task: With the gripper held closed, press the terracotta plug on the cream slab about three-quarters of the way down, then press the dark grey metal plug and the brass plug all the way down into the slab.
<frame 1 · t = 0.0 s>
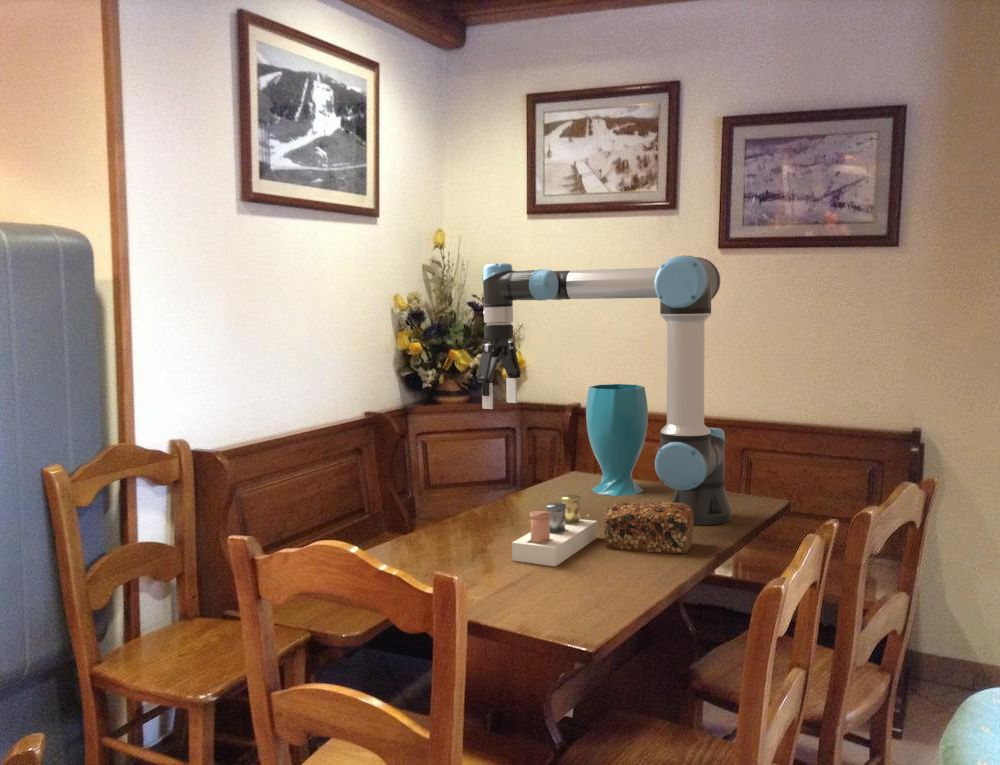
hand: (500, 405, 230), 28 cm above the table, fingers open, 13 cm apart
bread: (648, 547, 198), on the table
grey plug: (556, 517, 197), point 7 cm above the table, slide at 0.0 cm
brass plug: (571, 509, 204), point 7 cm above the table, slide at 0.0 cm
vase: (617, 490, 255), on the table
terracotta plug: (540, 526, 189), point 7 cm above the table, slide at 0.0 cm
slab: (556, 548, 197), on the table
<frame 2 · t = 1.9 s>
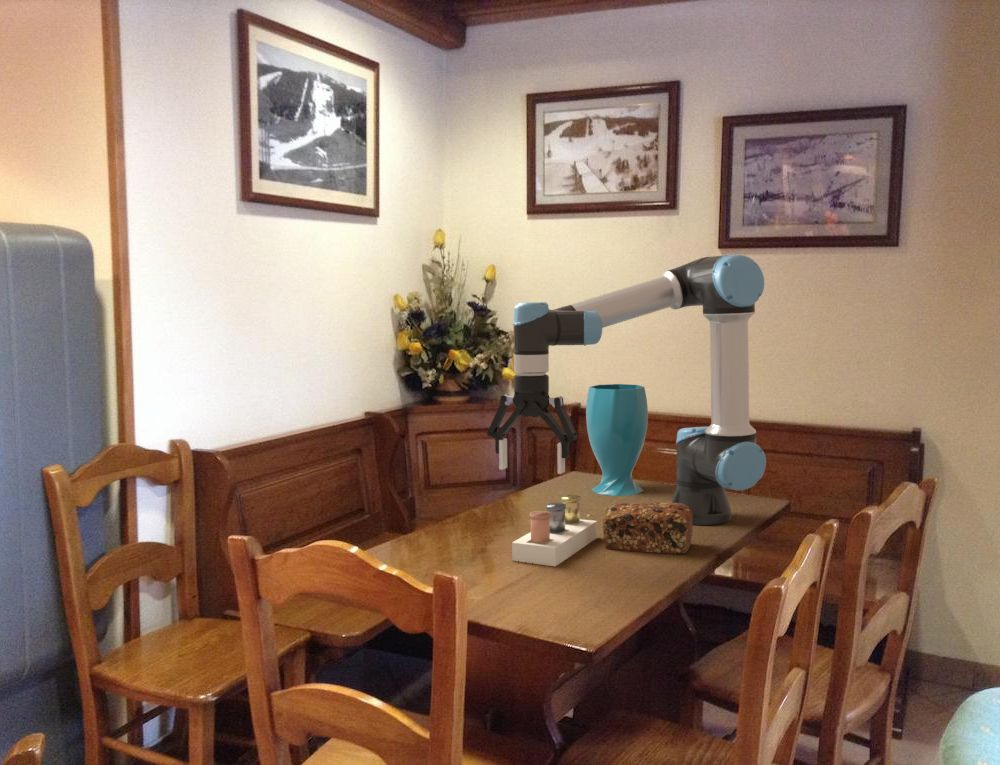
hand: (531, 470, 193), 18 cm above the table, fingers open, 13 cm apart
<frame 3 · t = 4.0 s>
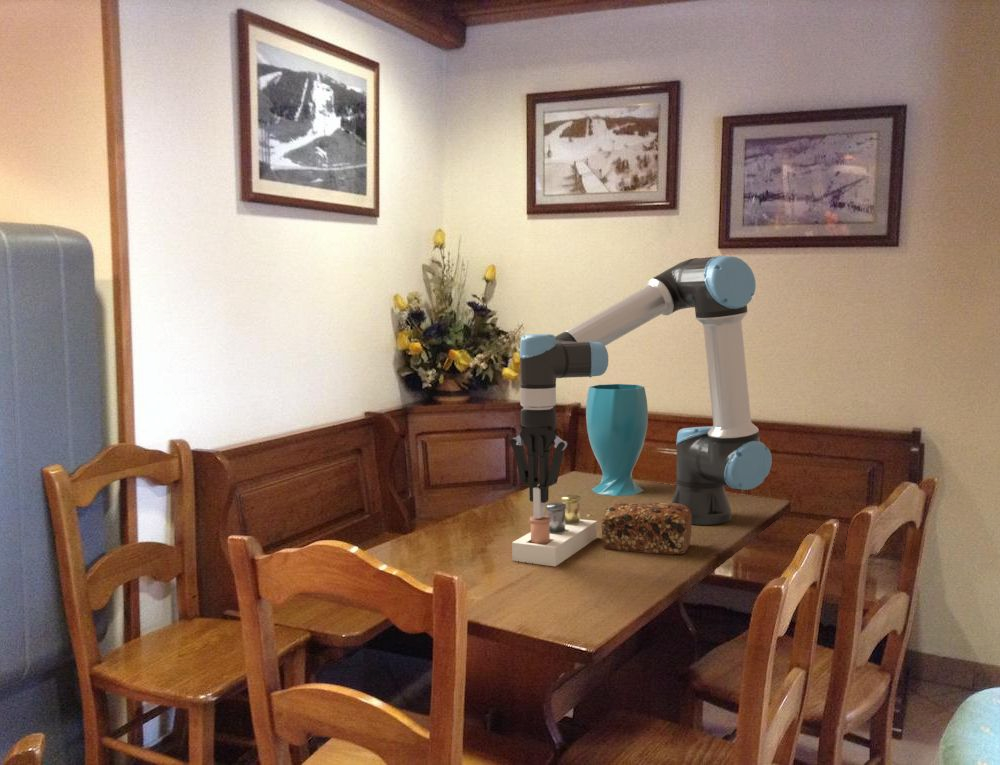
hand: (539, 516, 189), 9 cm above the table, fingers closed
terracotta plug: (540, 531, 189), point 6 cm above the table, slide at 1.0 cm, touching gripper
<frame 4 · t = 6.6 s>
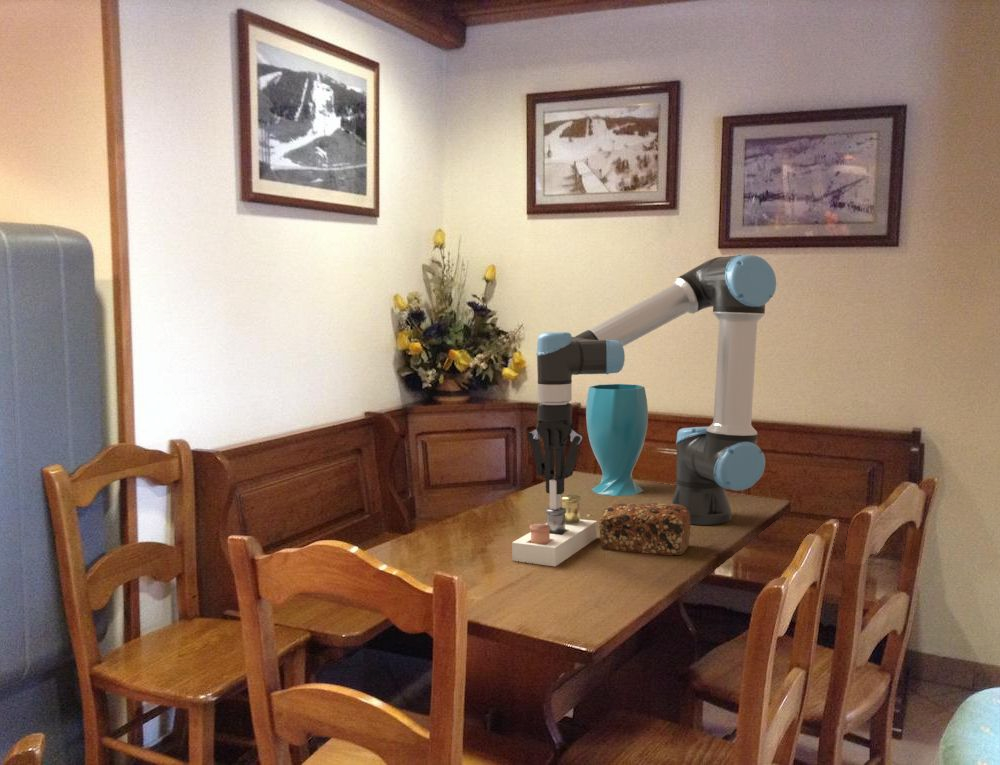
hand: (555, 507, 196), 9 cm above the table, fingers closed
grey plug: (556, 521, 197), point 6 cm above the table, slide at 1.0 cm, touching gripper
terracotta plug: (540, 539, 189), point 4 cm above the table, slide at 2.8 cm
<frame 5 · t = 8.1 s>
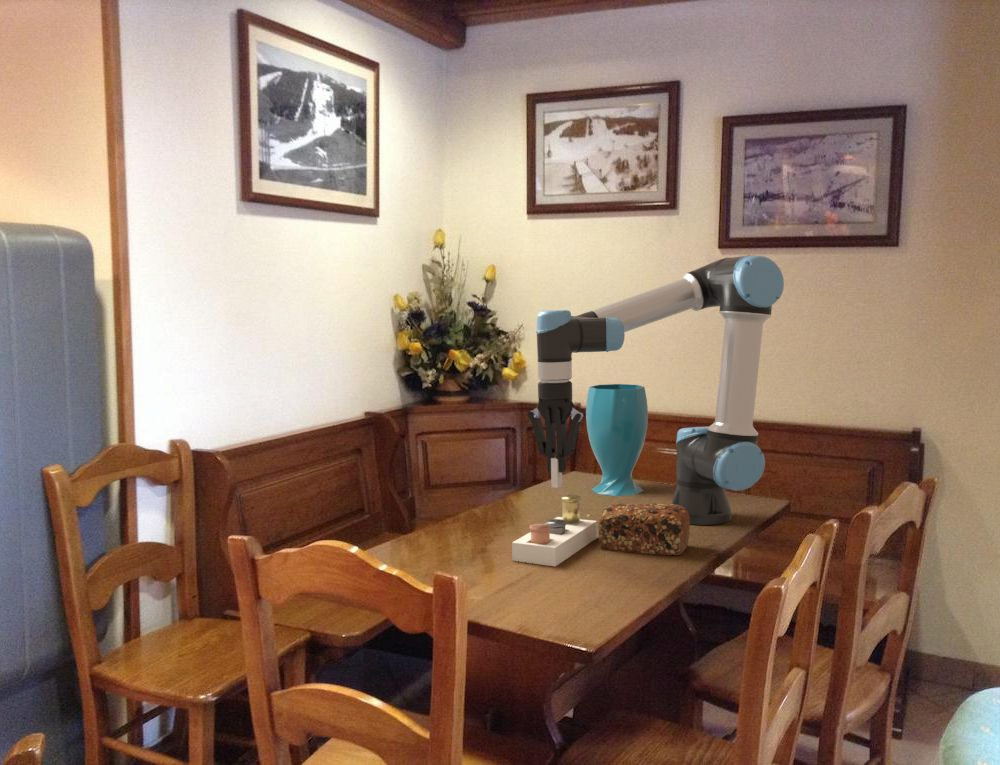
hand: (556, 486, 196), 14 cm above the table, fingers closed
grey plug: (556, 534, 197), point 3 cm above the table, slide at 3.8 cm
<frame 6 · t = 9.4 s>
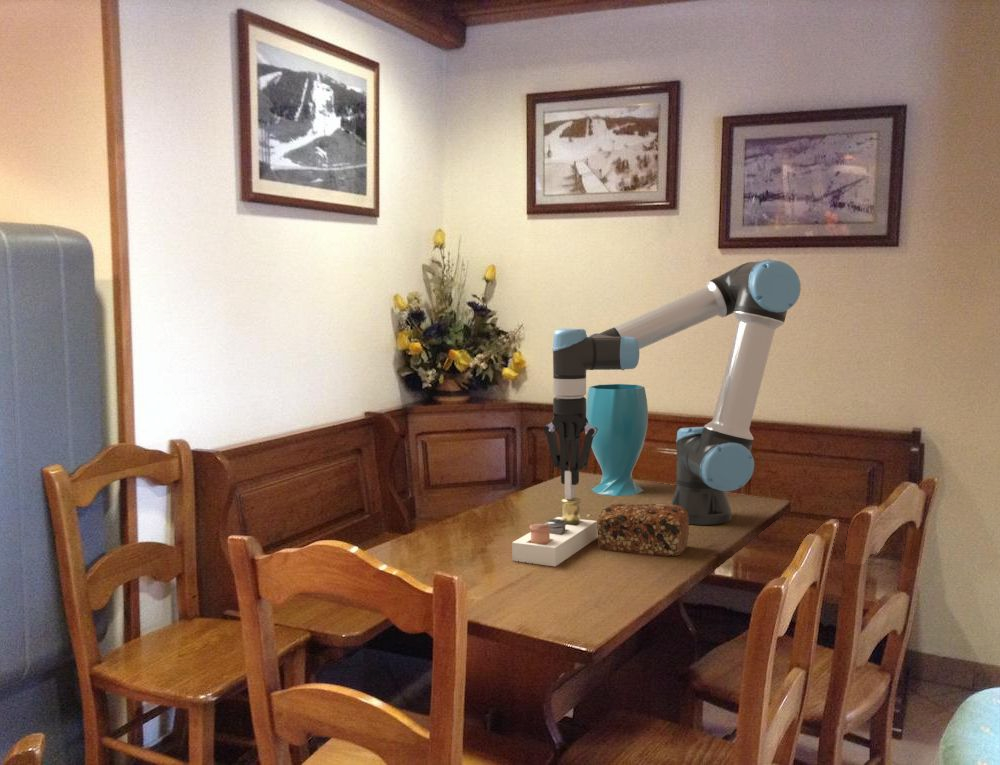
hand: (570, 498, 204), 10 cm above the table, fingers closed
brass plug: (571, 511, 204), point 7 cm above the table, slide at 0.6 cm, touching gripper
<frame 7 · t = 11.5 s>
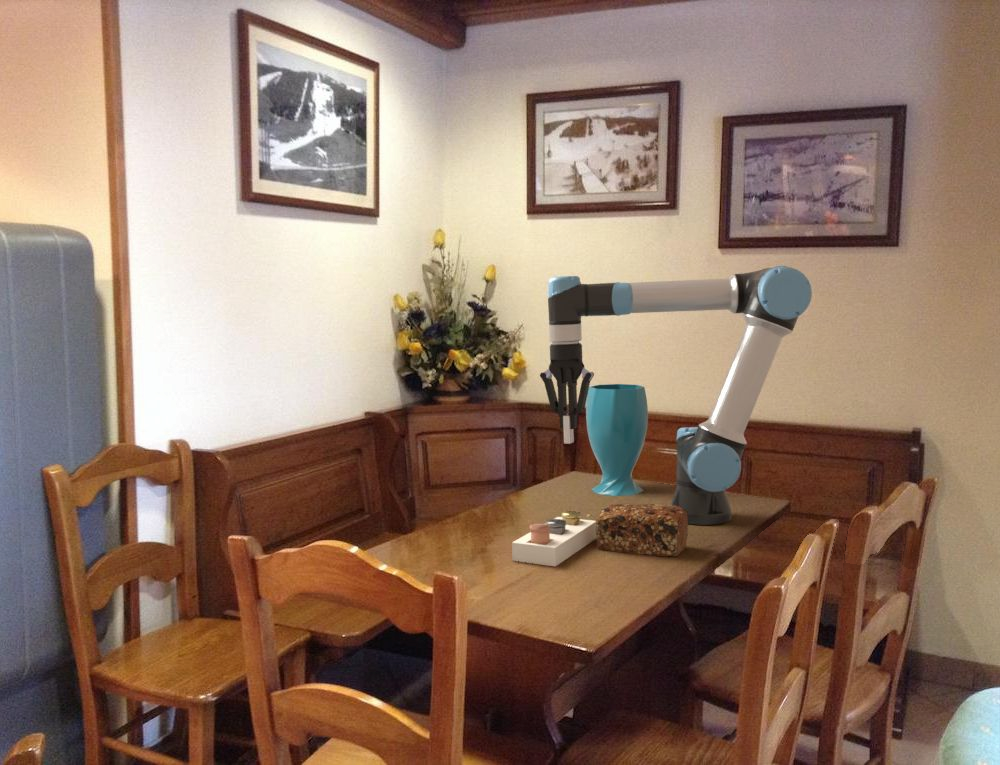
hand: (568, 442, 209), 22 cm above the table, fingers closed
brass plug: (571, 525, 205), point 3 cm above the table, slide at 3.8 cm
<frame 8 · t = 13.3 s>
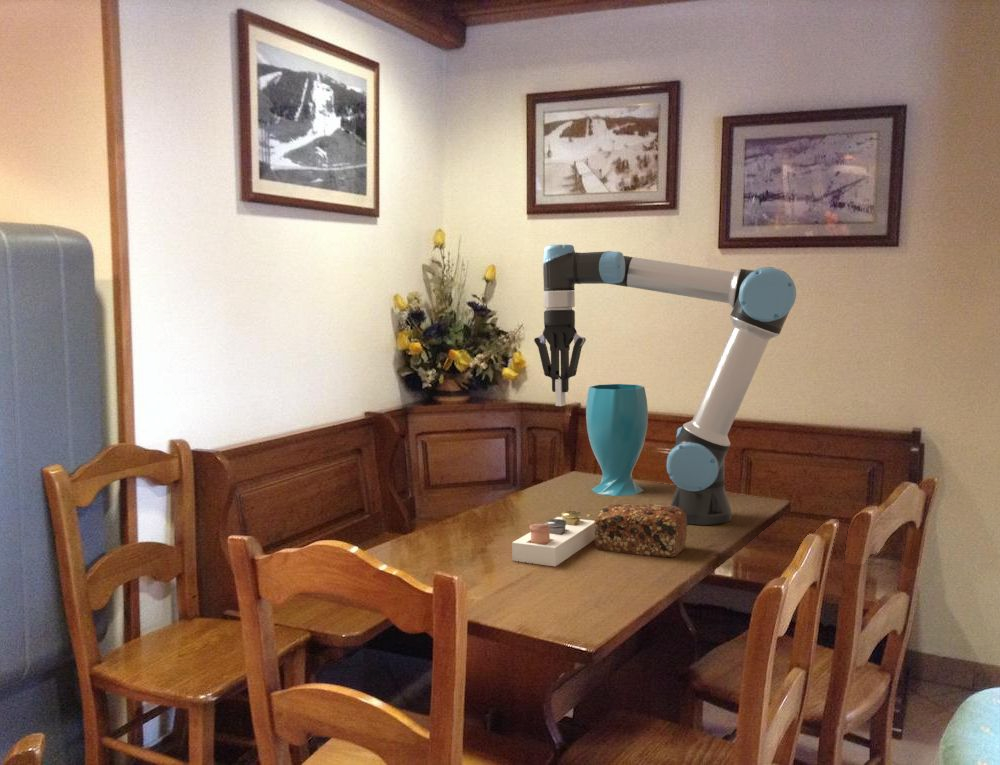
hand: (560, 405, 217), 29 cm above the table, fingers closed
at the end: terracotta plug slide at 2.8 cm; grey plug slide at 3.8 cm; brass plug slide at 3.8 cm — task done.
